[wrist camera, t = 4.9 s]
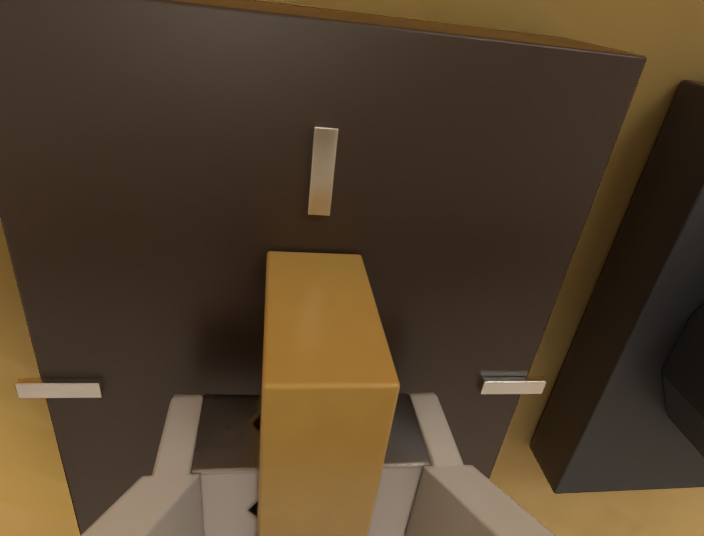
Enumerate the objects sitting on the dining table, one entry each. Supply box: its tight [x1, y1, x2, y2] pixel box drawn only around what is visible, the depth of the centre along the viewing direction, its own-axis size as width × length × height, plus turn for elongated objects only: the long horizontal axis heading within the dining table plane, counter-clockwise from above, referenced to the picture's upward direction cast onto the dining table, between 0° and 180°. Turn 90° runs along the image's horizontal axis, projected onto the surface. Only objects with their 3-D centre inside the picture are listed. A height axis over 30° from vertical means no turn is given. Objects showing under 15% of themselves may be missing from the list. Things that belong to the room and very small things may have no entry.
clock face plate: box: [0, 0, 646, 535], centre depth 11 cm, size 13×10×3 cm
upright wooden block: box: [257, 251, 400, 536], centre depth 8 cm, size 6×2×3 cm, turn 173°
